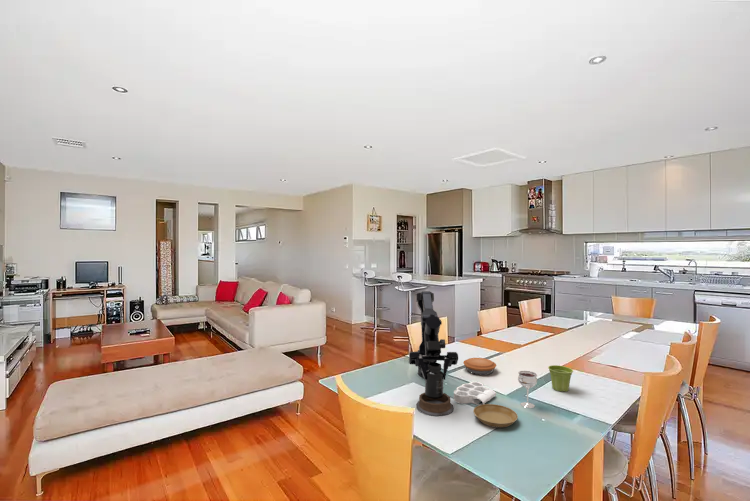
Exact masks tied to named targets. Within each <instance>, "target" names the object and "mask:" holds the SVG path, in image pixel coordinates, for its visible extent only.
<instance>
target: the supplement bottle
mask: <svg viewBox="0 0 750 501" xmlns="http://www.w3.org/2000/svg"><path fill="white" fill-rule="evenodd" d="M428 369H429V370H427V371H426V380H425V379H424V381H425V382H424V384H425V385H424V392H425V395H426V396H427V397H428V398H431V399H440V398H442V397H443V393H444V374H443V370H442V364H441V363H439V362H436V363H434V362H432V363H429V365H428Z"/></svg>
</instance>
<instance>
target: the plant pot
mask: <svg viewBox="0 0 750 501" xmlns="http://www.w3.org/2000/svg"><path fill="white" fill-rule="evenodd" d="M547 369H548V371H549V374H550V381H551V388H552V389H553V390H555V391H557V392H569V390H570V383H571V377H572V375H573V373H574V370H573V369H572V368H570V367H567V366H564V365H558V364H557V365H556V364H555V365H554V364H553V365H548V366H547Z"/></svg>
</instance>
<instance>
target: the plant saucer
mask: <svg viewBox="0 0 750 501" xmlns="http://www.w3.org/2000/svg"><path fill="white" fill-rule="evenodd" d="M472 412H473V414H474V415H475V417H476V418H477V419H478V420H479V421H480V422H481V423H482V424H484V425H487V426H489V427H493V428H508V427H509V426H511V425H513V424H514V423H515V422H516V421H517V420H518V418H519V417H518V413H517V412H516V411H515V410H513V409H512V408H509V407H507V406H506V405H505V406H504V405H500V404H493V403H485V404H483V405H479V404H478V405H477V406H475V407H474V408H473V411H472Z"/></svg>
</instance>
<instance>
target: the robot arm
mask: <svg viewBox="0 0 750 501" xmlns="http://www.w3.org/2000/svg"><path fill="white" fill-rule="evenodd" d="M415 294H416V295H415V302H416V303H417V308H418V309H419V310H420V326H421V327H420V328H421V342H420V344H419V347H418V349H417V351H410V352H409V353H408V354H409V355H408V365H415V367H417V368H418V370H417V374H418V375H419V376H420V377H421V378H423V379H424V381H425V380H426V371H427V370H429V369H428V365H429V363H432V362H434V363H438V361H443V364H442V365H443V366H442V367H443V370H442V372H443V374H444V380H446V377H447V371H448V369H449V367H450V368H451V367H452V366H455V365H457V364H458V361H459V353H458V352H457V351H447V352H446V355H443V354H442V349H445V348H446V340H445V339H444V338H443V339H440V340H439V333H440V328H441V326H442V324H443V322H442V320H441V319H440V317H439V316H438V313H437V311H435V310H434V306H433V303H434V301H435V295H434V294H435V293H433V292H432V291H430V290H427V291H426V290H423V291H421V292H418V293H415Z"/></svg>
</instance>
